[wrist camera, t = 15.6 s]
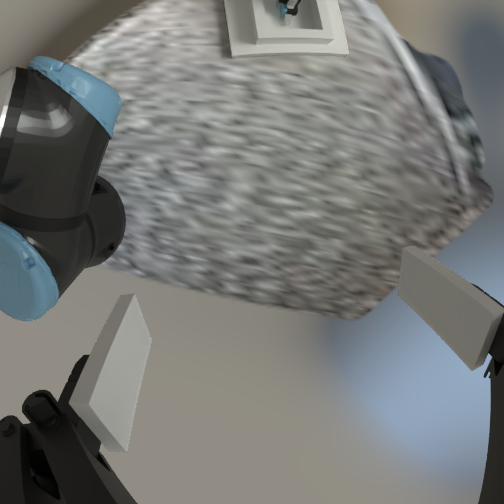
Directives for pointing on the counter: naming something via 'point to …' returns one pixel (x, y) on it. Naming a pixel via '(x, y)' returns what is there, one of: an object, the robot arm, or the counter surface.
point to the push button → (288, 9)
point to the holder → (284, 29)
